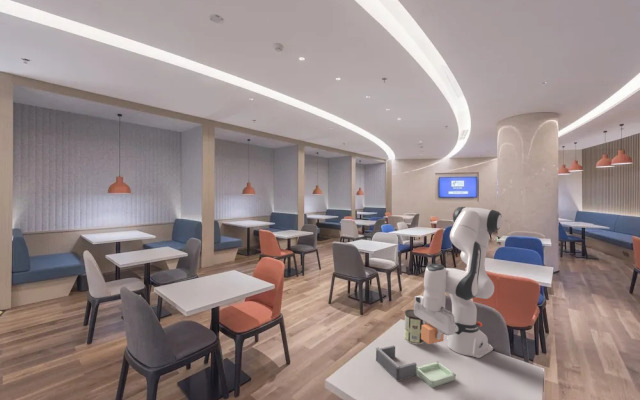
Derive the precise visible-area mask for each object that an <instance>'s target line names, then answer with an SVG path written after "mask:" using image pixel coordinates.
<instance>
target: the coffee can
mask: <svg viewBox="0 0 640 400" xmlns="http://www.w3.org/2000/svg"><path fill="white" fill-rule="evenodd" d="M422 325H424V324H423V320H422V319H420V318H418V317H417V316H415V314H414V309H407V310H405V311H404V332H403V338H404V340H405V341H406V342H407V343H409V344H411V345H417V346H418V345H423V344H425V341H423V340H422V339H421V326H422Z"/></svg>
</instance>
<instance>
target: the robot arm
mask: <svg viewBox="0 0 640 400" xmlns="http://www.w3.org/2000/svg"><path fill="white" fill-rule="evenodd" d="M452 221H453V225H452V227H451V230H450V232H449V240H450V243H451V244H452V245H453V246H454V247H455V248H457V249H458V250H459V251H461V252H460V255H459V256H460V260H461V261H462V262H463V263H464V264H465V265H466V268H465V270H462V269H459V268H453V267H445V266H444V265H443V264H440V263H430V264H428V265H426V267H425V271H424V274H423V275H424V277H423V288H424V290H423V294H420V295H415V296H414V304H413V310H414V314H415V316H417V317H418V318H420V319H422V320H423V324H430V325H432V326H433V327H435V328H436V329H437V331H438V333H437V334H435V338H437V339H438V340H439V339H441V335H442V333H444V334H445V335H446V345H447V346H448V349H451V350H452V351H453V352H455V353H458V354H460V355H463V356H470V357H474V358H477V359H480V358H482V357H484V356H485V355H487V354H489V353H490V352H492V351H493V350H494V347H493V346H492V345H491V344H490V343H489V341H488V340H489V339H488V336H487V334H485V333H484V332H483V331H482V330H480V329H479V327H480V328H481V327H483V323H482V322H480V321H477V317H478V315H477V314H478V309H477V306H476V304H475V303H474V302H473V301H472V300H471V299H473V298H478V299H490V298H491V297H492V296H493V294H494V293H495V284H494V282H493V281H492V279H491V278H490V277H489V275H488V274H487V271H486V267H485V265H486V264H485V263H486V258H487V257H486V255H487V251H488V247H489V242H490V241H489V240H490V235H493V233H496V232H497V231H499V230H500V228H501V226H502V224H503V216H502V214H501V212H500V211H497V210H494V209H487V208H483V207H470V206H469V207H466V206H458V207H457V208H455V210H453V214H452ZM446 293H447V294H448V295H449V298H450V301H451V310H449V309H447V308H446V300H447V299H446V298H447V297H446Z"/></svg>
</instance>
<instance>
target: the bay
mask: <svg viewBox="0 0 640 400" xmlns="http://www.w3.org/2000/svg"><path fill="white" fill-rule="evenodd" d="M375 349H376V350H375V351H376V353H375V361H376V362H377V363H378V364H379V365H380V366H381V367H382V368H383V369H384V370H385V371H386V372H387V373H389V375H390V376H392V378H394V379H395V380H396V381H397V382H398V381H402V380H405V379H408V378H411V377H414V376H417V375H416V367H418V365H417V363H416V362H412V363H408V364H405V365H399V364H398V363H396V361H394V360H393V359H392V358H395V357H396V346H395V345H390V346H386V347H381V348H380V347H379V346H377V347H375Z"/></svg>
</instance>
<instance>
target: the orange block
mask: <svg viewBox="0 0 640 400" xmlns="http://www.w3.org/2000/svg"><path fill="white" fill-rule="evenodd" d="M437 333H438V331H437V329H436V328H435V327H433V326H432V325H430V324H424V325H422V326H421V339H422V340H423V341H424V343H426V344H427V345H431V344H436V343H440V342H444V336H445V335H444V334H445V333H442V335H441V339H439V340H438V339H437V338H435V334H437Z"/></svg>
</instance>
